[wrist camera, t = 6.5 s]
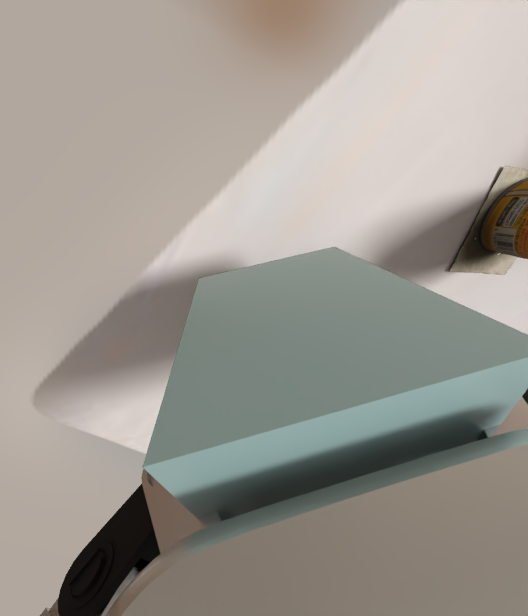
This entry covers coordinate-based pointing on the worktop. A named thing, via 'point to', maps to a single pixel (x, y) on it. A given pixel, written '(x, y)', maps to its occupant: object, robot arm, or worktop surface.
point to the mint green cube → (322, 381)
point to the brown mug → (498, 227)
